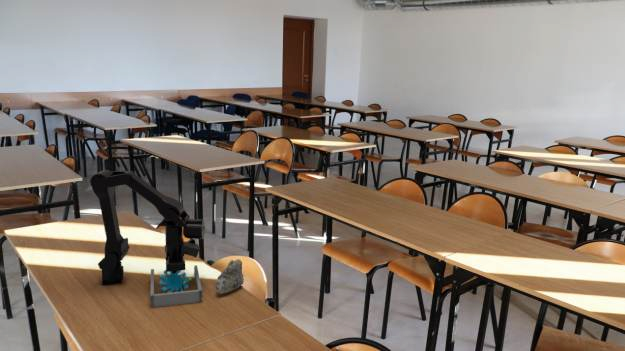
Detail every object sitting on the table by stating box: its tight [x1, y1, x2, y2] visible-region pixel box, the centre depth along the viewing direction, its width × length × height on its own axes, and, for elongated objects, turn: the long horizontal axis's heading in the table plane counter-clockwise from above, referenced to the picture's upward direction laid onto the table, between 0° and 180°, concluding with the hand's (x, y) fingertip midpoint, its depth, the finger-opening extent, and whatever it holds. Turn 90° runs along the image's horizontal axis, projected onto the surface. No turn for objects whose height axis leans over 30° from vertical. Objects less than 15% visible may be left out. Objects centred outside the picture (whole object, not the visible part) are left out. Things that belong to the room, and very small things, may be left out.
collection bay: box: [149, 264, 203, 308], centre depth 159 cm, size 16×20×4 cm
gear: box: [158, 269, 192, 293], centre depth 159 cm, size 11×6×10 cm
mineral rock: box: [214, 258, 245, 294], centre depth 162 cm, size 13×11×10 cm
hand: (175, 278), depth 164 cm, fingers closed
